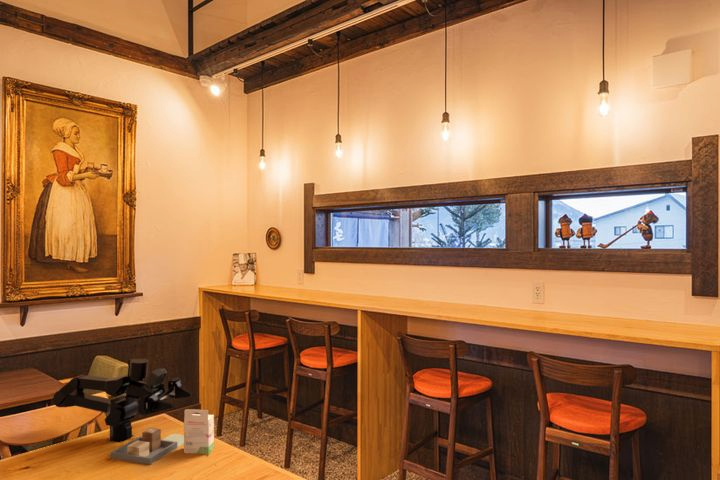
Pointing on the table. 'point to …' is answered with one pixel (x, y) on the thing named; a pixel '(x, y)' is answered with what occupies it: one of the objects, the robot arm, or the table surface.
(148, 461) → the grey tray
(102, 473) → the table surface
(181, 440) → the sage tile
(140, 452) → the beech box
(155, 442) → the walnut box
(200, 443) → the ink box
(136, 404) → the robot arm
